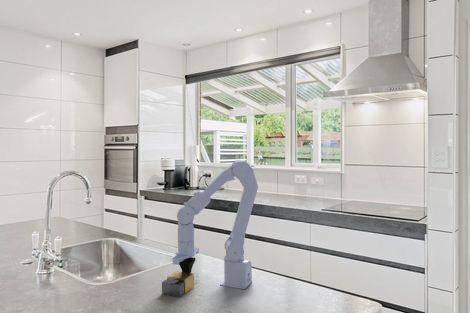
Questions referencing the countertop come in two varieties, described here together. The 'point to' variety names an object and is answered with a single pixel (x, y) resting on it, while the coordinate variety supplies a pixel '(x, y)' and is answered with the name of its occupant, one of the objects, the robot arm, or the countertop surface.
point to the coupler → (173, 287)
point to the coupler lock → (184, 279)
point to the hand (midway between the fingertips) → (186, 278)
